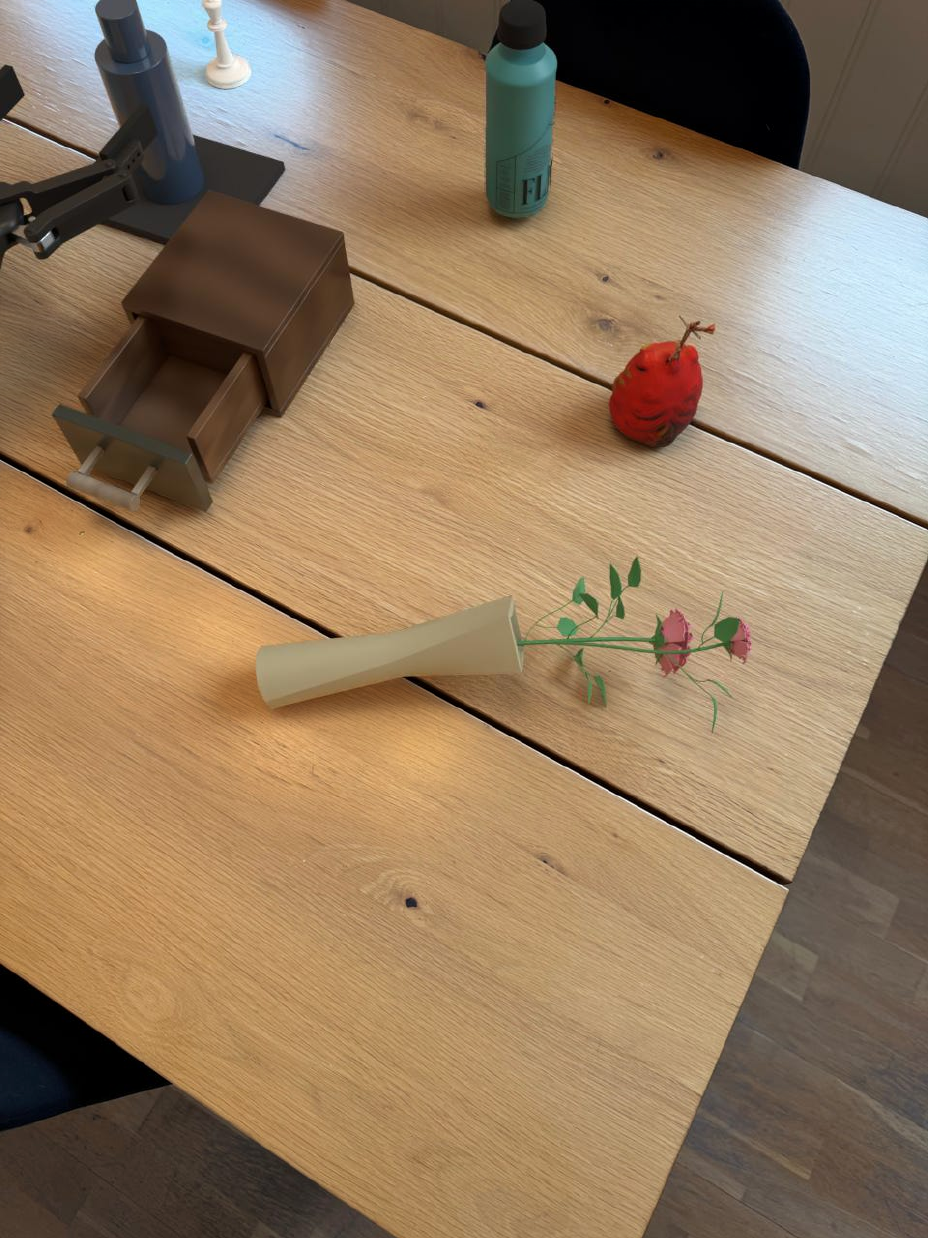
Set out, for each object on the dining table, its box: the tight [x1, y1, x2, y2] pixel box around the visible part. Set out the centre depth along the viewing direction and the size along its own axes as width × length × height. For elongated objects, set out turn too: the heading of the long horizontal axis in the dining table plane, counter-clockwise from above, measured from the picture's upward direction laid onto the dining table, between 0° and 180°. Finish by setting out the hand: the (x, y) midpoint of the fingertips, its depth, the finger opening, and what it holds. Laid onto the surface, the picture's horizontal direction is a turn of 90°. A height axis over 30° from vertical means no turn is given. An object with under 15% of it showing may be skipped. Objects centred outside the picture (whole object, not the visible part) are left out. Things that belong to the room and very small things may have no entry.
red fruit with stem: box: [608, 314, 716, 449], centre depth 83 cm, size 8×7×15 cm
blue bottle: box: [93, 0, 205, 205], centre depth 94 cm, size 6×6×18 cm
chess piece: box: [201, 0, 252, 90], centre depth 107 cm, size 5×5×10 cm
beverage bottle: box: [483, 0, 558, 219], centre depth 93 cm, size 6×7×20 cm
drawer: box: [51, 315, 269, 513], centre depth 85 cm, size 18×12×7 cm
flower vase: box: [255, 555, 753, 734], centre depth 75 cm, size 12×12×35 cm
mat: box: [92, 133, 286, 246], centre depth 103 cm, size 18×14×1 cm
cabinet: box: [120, 190, 355, 418], centre depth 91 cm, size 15×14×9 cm
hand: (81, 98), depth 87 cm, fingers open, 13 cm apart
